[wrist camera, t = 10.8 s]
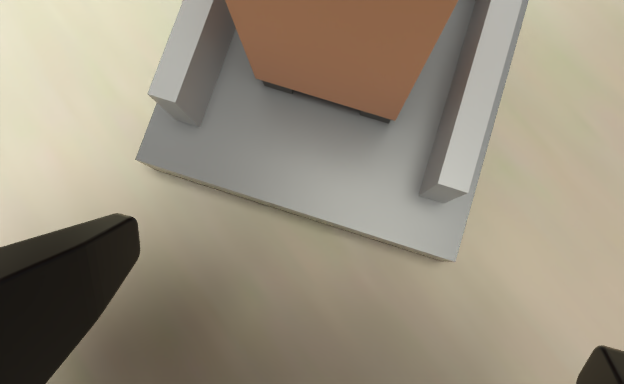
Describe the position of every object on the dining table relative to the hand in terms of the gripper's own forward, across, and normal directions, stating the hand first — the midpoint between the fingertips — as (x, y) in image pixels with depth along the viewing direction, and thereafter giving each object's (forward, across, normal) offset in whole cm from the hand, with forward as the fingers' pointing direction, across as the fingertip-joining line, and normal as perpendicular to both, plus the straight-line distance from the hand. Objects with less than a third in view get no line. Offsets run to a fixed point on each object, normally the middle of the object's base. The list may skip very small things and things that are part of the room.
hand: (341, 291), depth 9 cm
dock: (+13, +3, 0) cm, 14 cm away
